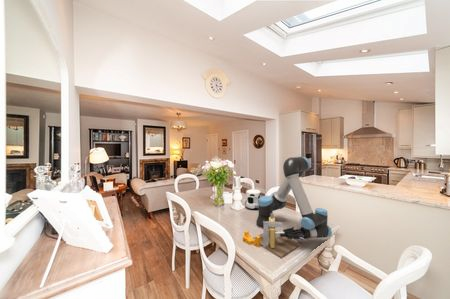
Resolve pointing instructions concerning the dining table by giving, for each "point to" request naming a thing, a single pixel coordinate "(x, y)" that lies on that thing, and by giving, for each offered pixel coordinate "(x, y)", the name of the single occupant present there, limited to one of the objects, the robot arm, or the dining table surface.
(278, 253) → the board
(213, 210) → the dining table surface
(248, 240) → the pipe clamp
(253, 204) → the white rounded appliance
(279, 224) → the hook
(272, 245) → the hinged door
